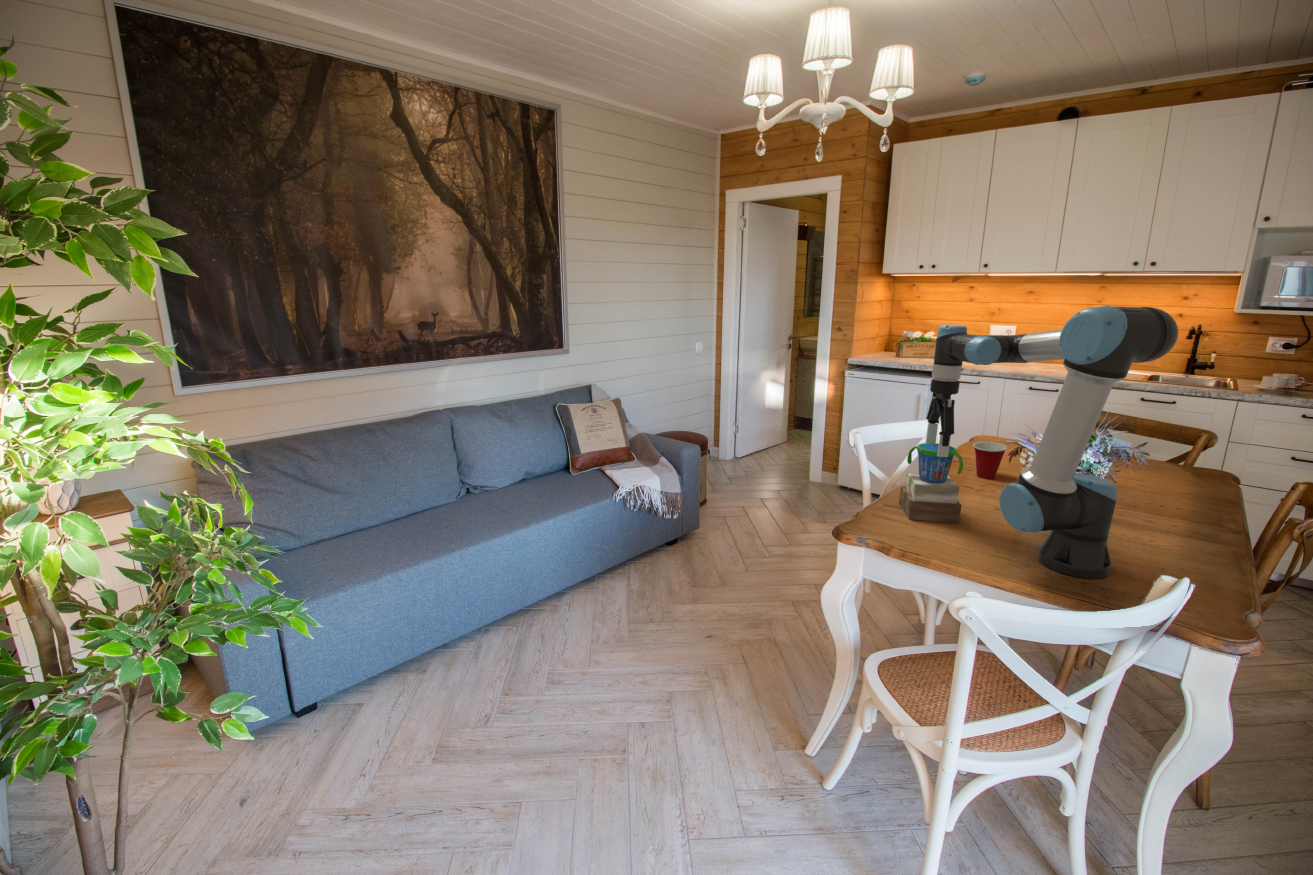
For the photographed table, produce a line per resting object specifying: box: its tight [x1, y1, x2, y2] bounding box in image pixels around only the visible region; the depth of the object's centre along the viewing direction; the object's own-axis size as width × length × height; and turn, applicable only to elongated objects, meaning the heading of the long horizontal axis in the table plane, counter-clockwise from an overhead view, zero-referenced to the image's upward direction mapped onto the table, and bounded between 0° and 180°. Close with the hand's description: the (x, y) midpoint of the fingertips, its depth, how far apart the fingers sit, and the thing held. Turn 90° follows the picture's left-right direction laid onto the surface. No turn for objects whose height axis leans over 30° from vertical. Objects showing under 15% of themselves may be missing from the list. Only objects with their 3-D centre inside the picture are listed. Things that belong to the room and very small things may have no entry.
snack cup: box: [906, 442, 964, 483], centre depth 185 cm, size 16×10×10 cm
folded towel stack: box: [898, 472, 963, 524], centre depth 188 cm, size 14×14×10 cm
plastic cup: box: [972, 441, 1008, 480], centre depth 224 cm, size 11×11×12 cm
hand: (936, 450), depth 184 cm, fingers open, 13 cm apart
